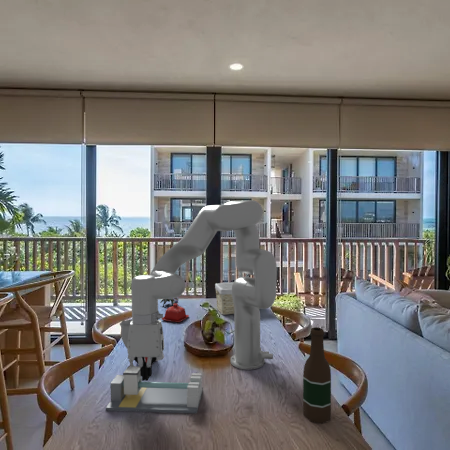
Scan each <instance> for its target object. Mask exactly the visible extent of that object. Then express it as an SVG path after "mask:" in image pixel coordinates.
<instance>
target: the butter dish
mask: <svg viewBox="0 0 450 450" xmlns="http://www.w3.org/2000/svg"><path fill="white" fill-rule="evenodd" d="M187 318H189V314H186V309H185V308H184V307H183V306H180V305H179V303H174V304H172V306H170V307H167V308H166V310H165V312H164V316H163V318H161V321H162V320H163V321H167V322H174V323H180V322H182V321H184V320H186V319H187Z"/></svg>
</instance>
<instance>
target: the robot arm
mask: <svg viewBox="0 0 450 450" xmlns="http://www.w3.org/2000/svg"><path fill="white" fill-rule="evenodd" d="M263 213H264V210H263V206H262V205H261V204H260V202H258V201H256V200H252V199H248V200H247V199H246V200H230V201H227V202H224V203H223V204H211V205H206V206H203V207H202V208H201V210H199V212H198V213H197V215H196V216H195V218H194V220H193V221H192V222H191V224H190V225H189V227H188V228H187V230H186V231H185V233H184V235H183V236H182V238H181V239H180V240H179V241H178V242H176V243H175V244H174V245H172V247H170V248H169V249H168V250H167V251H166V252H165V253H164V254H162V256H161V257H160V258H159V260H158V261H157V262H156V264H155V265H154V267H153V268H152V270H151V272H150V273H149V274H142V275H136V276H134V277H133V278H132V279H131V284H130V285H131V286H130V287H131V320H132V321H131V323H130V326H129V333H128V344H127V348H126V350H127V359H128V360H129V359H131V360H134V361H135V362H136V364H137V365H138V366H139V367H140V375H141V376H142V382H149V381H148V380H149V379H150V377H152V374H153V366H152V365H153V364H154V363H155V362H158V361H162V360H163V359H164V358H165V355H164V351H165V337H164V336H165V335H164V328H163V323H162V318H163V317H164V314H163V313H160V311H159V300H163V299H173V298H179V297H181V296H182V294H184V292H185V290H186V282H185V279H184V278H183V277H182V276H181V275H179V274H177V273H176V272H177V271H178V270H179V268H181V266H183V265H184V264H185V263H187V262H189V261H190V260H194V259H196V258H198V257H200V256H202V255H203V254H204V253H205V252H206V250H207V248H208V247H209V245H210V243H211V242H212V241H213V238H215V235H216V234H217V232H231V231H232V232H233V231H234V234H235V266H236V269H237V270H238V271H239V272H240V273H242V274H246V275H250V276H253V277H250V276H241V277H240V276H239V277H238V278H236V279H235V280H234V281H233V282H234V283H233V285H232V298H233V304H234V314H233V315H234V316H233V318H234V320H233V321H234V322H233V323H234V324H233V326H234V327H233V329H234V334H233V335H234V354H233V355H232V356H230V364H231V365H232V366H233V367H235V368H237V369H241V370H246V371H247V370H256V369H260V368H261V367H264V365H265V362H266V361H265V360H274V354H273V353H270V351H263V350H262V347H261V313H260V309H261V310H267V309H270V308H271V307H272V306H273V305H274V304H275V303H274V302H275V301H276V297H277V272H278V269H277V268H278V265H277V260H276V258H275V256H274V254H273V253H272V252H271V251H269V250H268V249H267V250H266V249H261V248H260V233H259V230H258V227H257V224H258V223H260V221H261V220H262V219H263ZM259 308H260V309H259ZM145 357H148V359H147V363H146V362H145Z"/></svg>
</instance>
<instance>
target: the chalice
mask: <svg viewBox="0 0 450 450" xmlns="http://www.w3.org/2000/svg"><path fill="white" fill-rule="evenodd" d="M131 321H132V319H127V320H126V319H125V320H122V321H121V322H120V323H119V326H120V329H121V341H122V343H123V345H124V347H125V348H126V349H127V344H128V333H129V326H130V323H131ZM134 361H135V360H131V359H128V362H129V366H135V365H134Z"/></svg>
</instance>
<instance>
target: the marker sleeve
mask: <svg viewBox="0 0 450 450" xmlns="http://www.w3.org/2000/svg"><path fill="white" fill-rule="evenodd" d="M122 375H124V394H128V395H138V393H139V391H140V390H141V388H139V387H138V382H143V381H142V376H141V375H140V367H139V365H138V366H136V365H134V366H130V365H128V366H127V368H126V369H125V370H124V371H123V374H122Z"/></svg>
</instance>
